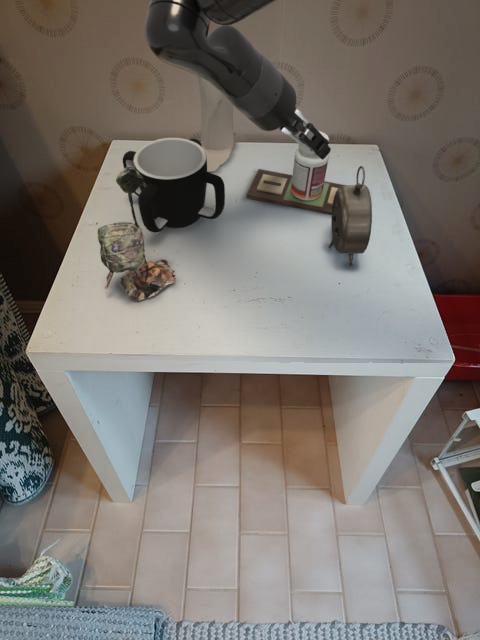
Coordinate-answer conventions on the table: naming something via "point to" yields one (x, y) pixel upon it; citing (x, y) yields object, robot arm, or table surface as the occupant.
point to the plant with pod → (131, 249)
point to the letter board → (289, 192)
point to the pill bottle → (308, 173)
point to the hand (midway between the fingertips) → (310, 142)
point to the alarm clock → (351, 218)
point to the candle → (215, 125)
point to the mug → (174, 183)
